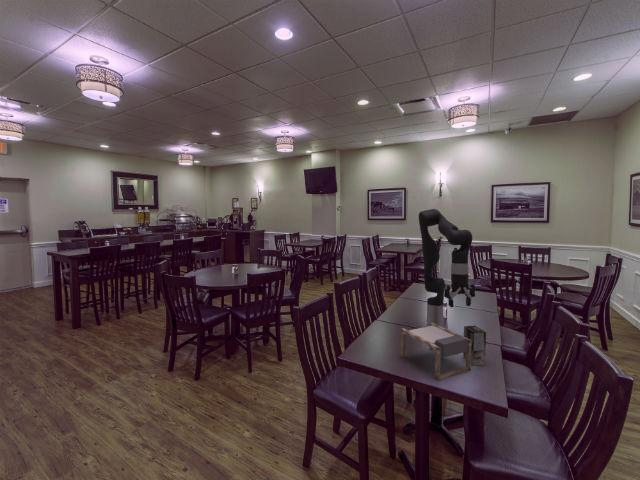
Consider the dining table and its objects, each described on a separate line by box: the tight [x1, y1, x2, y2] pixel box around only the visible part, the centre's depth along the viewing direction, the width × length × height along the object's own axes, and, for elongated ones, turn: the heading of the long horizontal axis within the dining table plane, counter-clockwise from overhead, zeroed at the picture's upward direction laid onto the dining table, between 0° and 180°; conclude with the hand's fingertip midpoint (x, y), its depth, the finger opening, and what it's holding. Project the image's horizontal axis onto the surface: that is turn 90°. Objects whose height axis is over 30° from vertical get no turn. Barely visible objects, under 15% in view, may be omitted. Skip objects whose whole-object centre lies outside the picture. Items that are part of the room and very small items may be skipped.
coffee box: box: [462, 325, 487, 366], centre depth 148 cm, size 9×6×16 cm
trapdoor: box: [408, 326, 467, 359], centre depth 144 cm, size 22×16×6 cm
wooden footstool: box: [400, 323, 472, 381], centre depth 146 cm, size 24×20×14 cm
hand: (459, 306), depth 144 cm, fingers open, 8 cm apart
